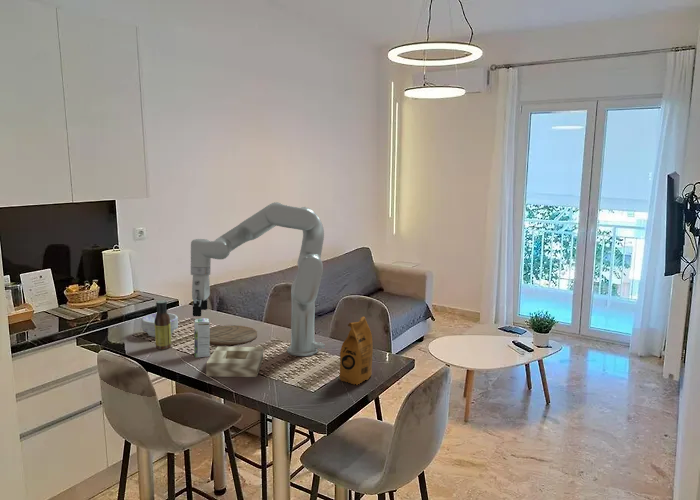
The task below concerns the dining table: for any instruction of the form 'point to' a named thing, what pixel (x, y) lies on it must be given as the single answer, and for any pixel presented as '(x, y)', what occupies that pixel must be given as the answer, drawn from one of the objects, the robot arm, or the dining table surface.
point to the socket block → (235, 362)
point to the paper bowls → (149, 323)
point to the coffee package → (357, 353)
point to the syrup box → (201, 337)
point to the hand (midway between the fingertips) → (200, 312)
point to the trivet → (231, 335)
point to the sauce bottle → (162, 326)
